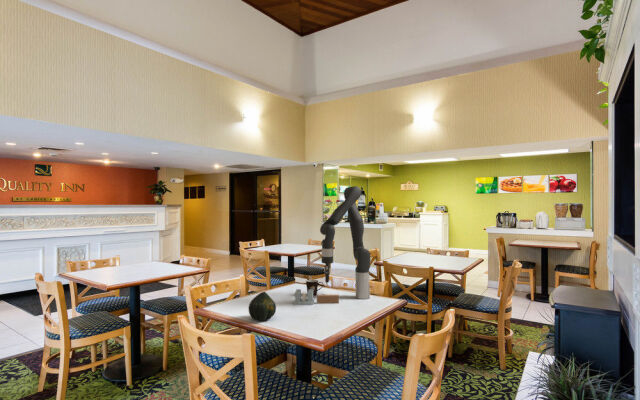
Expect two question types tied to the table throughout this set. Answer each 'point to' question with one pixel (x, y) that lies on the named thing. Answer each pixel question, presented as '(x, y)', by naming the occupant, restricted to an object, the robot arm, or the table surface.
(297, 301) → the display stand
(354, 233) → the robot arm
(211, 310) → the table surface
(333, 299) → the glasses bar
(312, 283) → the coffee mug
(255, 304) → the squash
